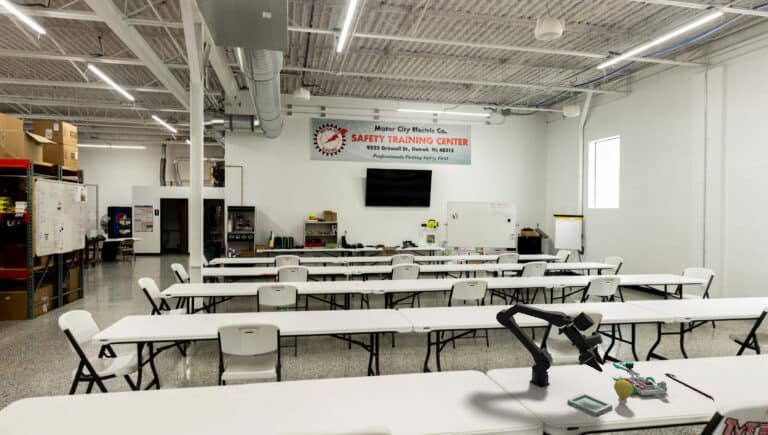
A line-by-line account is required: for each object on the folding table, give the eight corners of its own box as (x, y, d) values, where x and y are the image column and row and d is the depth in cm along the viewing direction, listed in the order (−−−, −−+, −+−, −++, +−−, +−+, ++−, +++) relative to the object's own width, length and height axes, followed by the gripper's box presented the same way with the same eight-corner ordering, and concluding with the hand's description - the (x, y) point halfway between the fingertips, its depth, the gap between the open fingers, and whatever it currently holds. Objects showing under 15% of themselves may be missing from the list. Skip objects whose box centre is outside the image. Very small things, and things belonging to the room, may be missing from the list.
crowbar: (661, 373, 202) (670, 372, 203) (661, 375, 202) (670, 374, 203) (713, 399, 175) (723, 399, 175) (713, 402, 175) (723, 401, 175)
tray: (567, 403, 169) (567, 399, 169) (584, 396, 176) (584, 393, 176) (595, 416, 159) (595, 412, 159) (612, 408, 166) (612, 405, 166)
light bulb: (626, 400, 173) (628, 377, 173) (635, 408, 166) (636, 384, 166) (610, 399, 174) (611, 376, 173) (617, 407, 167) (618, 383, 167)
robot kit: (629, 373, 203) (630, 355, 203) (673, 397, 178) (674, 376, 178) (596, 375, 200) (597, 356, 199) (636, 399, 175) (637, 378, 175)
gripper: (588, 332, 168) (617, 364, 163) (592, 322, 184) (619, 351, 178) (566, 347, 173) (594, 379, 167) (573, 335, 188) (598, 364, 183)
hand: (602, 368), depth 174 cm, fingers open, 9 cm apart
